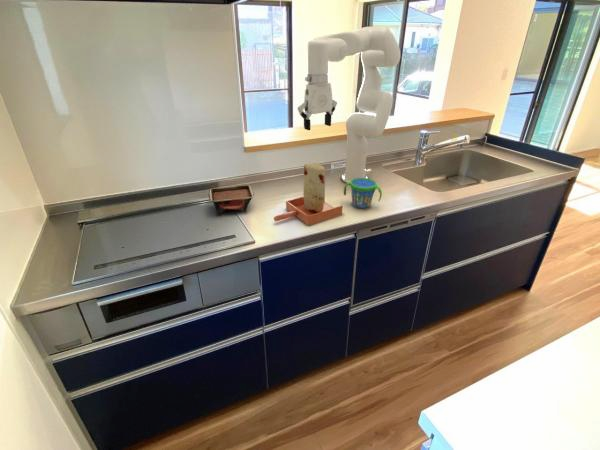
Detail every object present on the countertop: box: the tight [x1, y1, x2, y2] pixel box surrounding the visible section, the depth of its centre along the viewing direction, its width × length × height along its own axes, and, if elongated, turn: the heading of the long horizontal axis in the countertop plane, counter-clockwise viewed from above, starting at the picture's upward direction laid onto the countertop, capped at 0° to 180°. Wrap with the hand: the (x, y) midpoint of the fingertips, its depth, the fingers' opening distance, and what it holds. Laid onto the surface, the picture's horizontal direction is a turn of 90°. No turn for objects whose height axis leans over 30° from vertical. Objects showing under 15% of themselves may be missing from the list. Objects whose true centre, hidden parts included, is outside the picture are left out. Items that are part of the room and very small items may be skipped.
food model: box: [303, 162, 326, 213], centre depth 135 cm, size 10×7×20 cm
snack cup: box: [343, 178, 383, 209], centre depth 142 cm, size 16×10×10 cm
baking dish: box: [208, 184, 255, 216], centre depth 142 cm, size 14×18×10 cm
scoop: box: [273, 195, 343, 226], centre depth 136 cm, size 26×16×4 cm, turn 123°
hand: (317, 127), depth 131 cm, fingers open, 9 cm apart
